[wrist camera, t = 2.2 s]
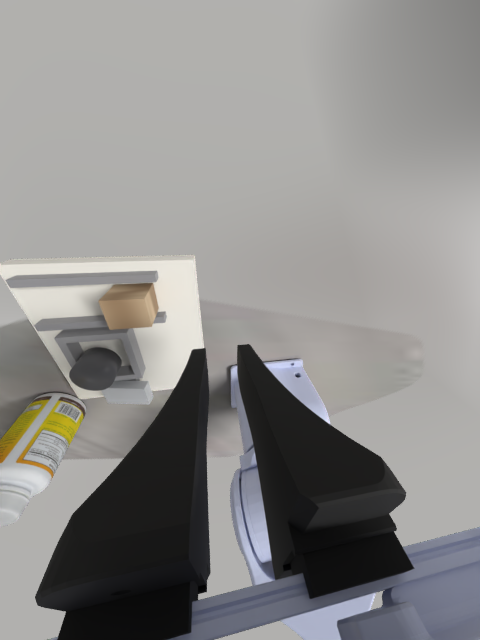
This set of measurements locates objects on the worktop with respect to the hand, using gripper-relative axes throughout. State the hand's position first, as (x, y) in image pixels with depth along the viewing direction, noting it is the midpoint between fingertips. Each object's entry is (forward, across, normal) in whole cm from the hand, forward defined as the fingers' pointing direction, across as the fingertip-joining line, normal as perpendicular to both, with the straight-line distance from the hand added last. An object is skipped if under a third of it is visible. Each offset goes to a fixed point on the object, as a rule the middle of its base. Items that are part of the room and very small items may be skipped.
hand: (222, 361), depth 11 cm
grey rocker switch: (+7, +10, +10) cm, 16 cm away
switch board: (+10, +8, +5) cm, 14 cm away
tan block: (+9, +6, 0) cm, 11 cm away
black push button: (+7, +11, +5) cm, 14 cm away
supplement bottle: (+11, +19, +15) cm, 26 cm away
